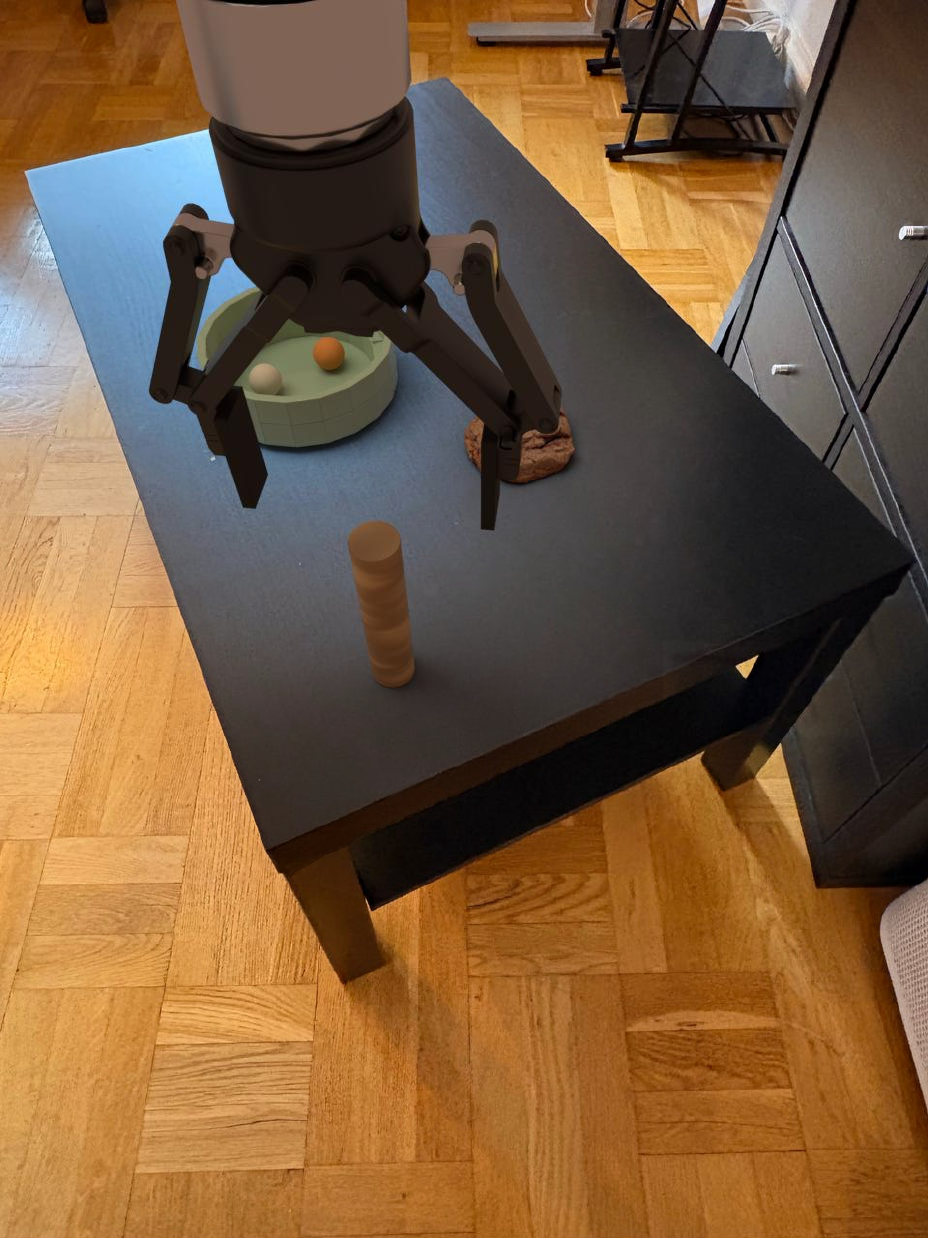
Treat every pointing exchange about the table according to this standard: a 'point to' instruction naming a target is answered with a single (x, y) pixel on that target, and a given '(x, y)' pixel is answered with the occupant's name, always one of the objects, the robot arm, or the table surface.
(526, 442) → the cookie
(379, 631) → the stick
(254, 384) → the cream ball
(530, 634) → the table surface
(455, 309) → the table surface
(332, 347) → the orange ball
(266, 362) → the bowl
